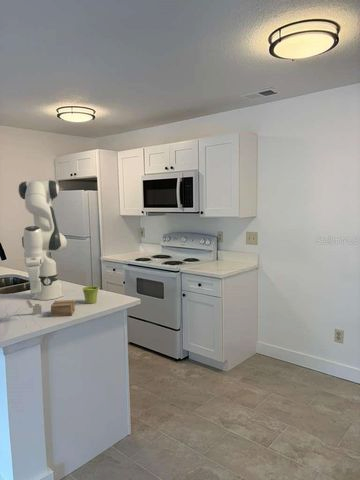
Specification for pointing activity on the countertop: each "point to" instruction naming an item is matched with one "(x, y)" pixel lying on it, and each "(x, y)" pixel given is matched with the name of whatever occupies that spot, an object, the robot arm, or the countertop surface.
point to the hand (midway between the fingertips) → (35, 286)
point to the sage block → (36, 288)
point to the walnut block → (62, 308)
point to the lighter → (35, 308)
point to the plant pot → (90, 294)
